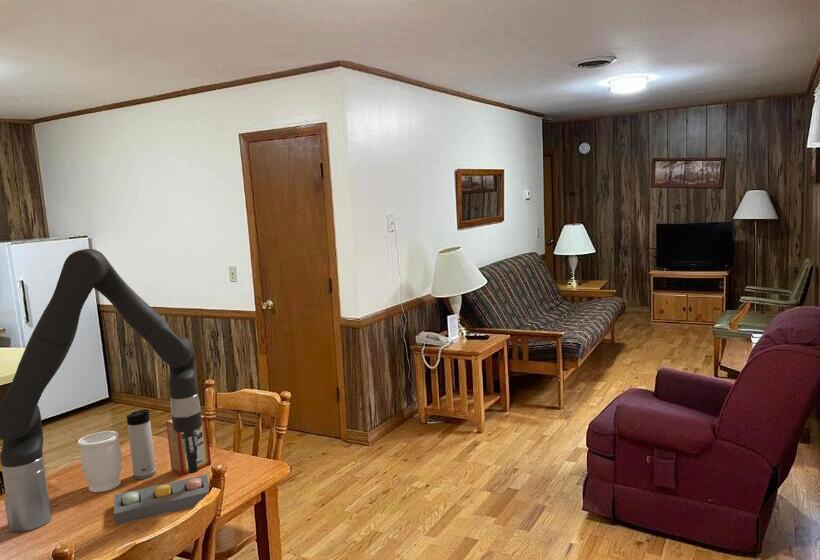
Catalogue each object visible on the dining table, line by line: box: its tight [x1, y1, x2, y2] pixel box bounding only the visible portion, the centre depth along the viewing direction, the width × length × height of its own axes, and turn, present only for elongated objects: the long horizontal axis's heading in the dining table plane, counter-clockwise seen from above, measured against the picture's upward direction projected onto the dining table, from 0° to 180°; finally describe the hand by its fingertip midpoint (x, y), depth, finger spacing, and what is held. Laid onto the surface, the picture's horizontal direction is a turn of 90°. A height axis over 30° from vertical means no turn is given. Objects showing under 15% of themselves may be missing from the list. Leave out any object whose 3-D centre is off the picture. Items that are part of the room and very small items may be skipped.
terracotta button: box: [186, 477, 202, 491], centre depth 174 cm, size 4×4×3 cm
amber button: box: [155, 484, 171, 498], centre depth 170 cm, size 4×4×3 cm
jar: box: [77, 430, 123, 493], centre depth 183 cm, size 11×10×15 cm
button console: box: [113, 473, 210, 526], centre depth 171 cm, size 24×12×3 cm, turn 114°
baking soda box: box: [165, 414, 212, 477], centre depth 192 cm, size 10×6×16 cm
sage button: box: [122, 491, 139, 506], centre depth 167 cm, size 4×4×3 cm
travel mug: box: [126, 408, 157, 480], centre depth 189 cm, size 6×7×20 cm
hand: (193, 471), depth 173 cm, fingers closed
